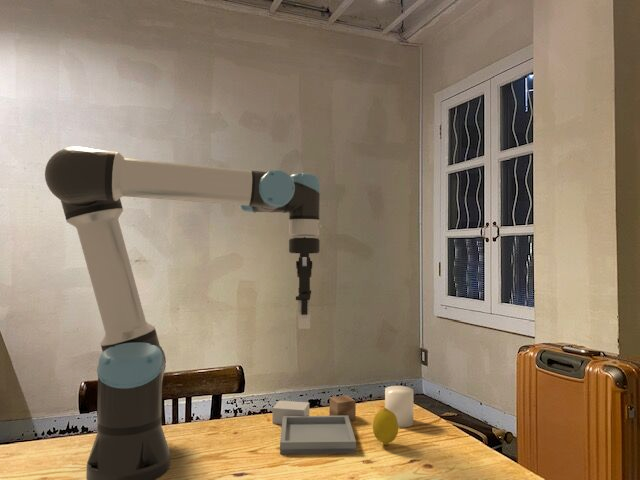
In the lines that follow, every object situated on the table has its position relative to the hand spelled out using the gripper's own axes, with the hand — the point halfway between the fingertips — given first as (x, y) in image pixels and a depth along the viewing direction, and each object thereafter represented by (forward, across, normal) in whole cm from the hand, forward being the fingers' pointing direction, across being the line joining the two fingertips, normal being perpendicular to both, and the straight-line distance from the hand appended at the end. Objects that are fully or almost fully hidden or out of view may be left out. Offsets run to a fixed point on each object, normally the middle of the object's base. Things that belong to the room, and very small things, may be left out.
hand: (303, 324), depth 117 cm
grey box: (+25, +4, +3) cm, 25 cm away
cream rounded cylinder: (+25, +2, -24) cm, 34 cm away
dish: (+25, -8, -3) cm, 26 cm away
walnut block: (+25, +5, -10) cm, 27 cm away
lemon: (+25, -12, -18) cm, 33 cm away
